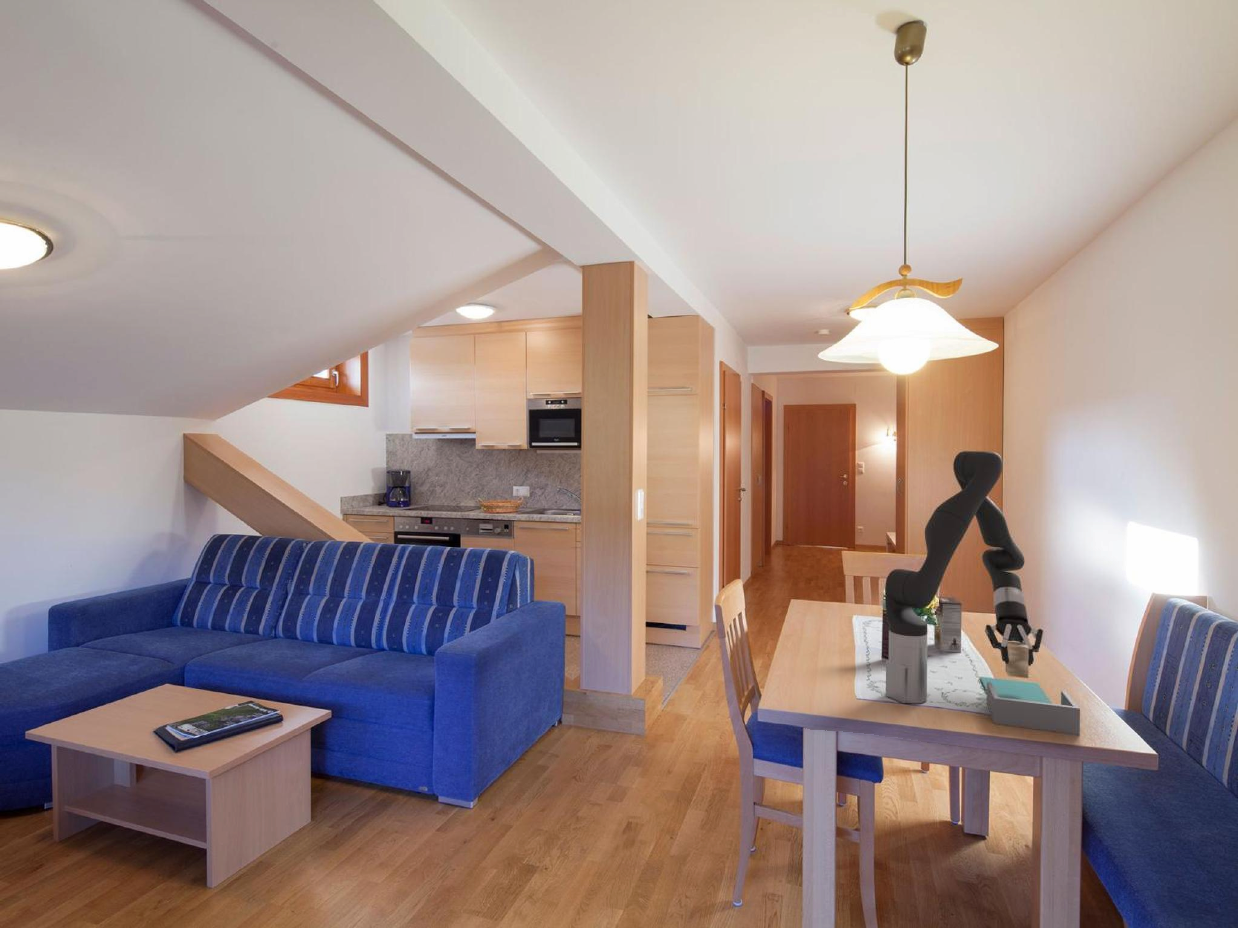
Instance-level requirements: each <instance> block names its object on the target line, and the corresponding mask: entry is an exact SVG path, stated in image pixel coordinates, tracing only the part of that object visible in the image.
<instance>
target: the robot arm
mask: <svg viewBox="0 0 1238 928" xmlns="http://www.w3.org/2000/svg"><path fill="white" fill-rule="evenodd" d="M1003 464H1004V463H1003V458H1002V457H1001V456H1000V454H998V453H997V452H995V451H994V452H993V451H984V450H983V451H982V450H980V451H979V450H976V451H975V450H963V451H960V452H959V453H957V455H955V457H954V460H953V464H952V467H953V468H952V470H953V472H954V473H953V474H954V476H955V479H956V481H957V483H958V486H959V487H960V489H961V490H960V491H958V492H957V493H955V494H954V495H952V496H951V497H949V498H947V499H946V500H945V501H943V502H942V503H941V504H940V505H938V506H937V507H936V508H935V510H934V511H933V513H932V515H931V517H930V518H929V520H928V521H927V523H926V525H925V528H924V539H925V545H926V551H927V553H926V558H925V560H924V562H923V564H922V566H921V567H920V568H919V570H918V571H914V570H910V569H903V568H895V569H893V570H891V571H890V572H889V573H888V575H887V576H886V577H887V578H886V579H885V580H886V581H885V586H884V597H885V600H884V601H885V609H886V617H887V621H888V624H889V659H888V660H886V662H885V696H886V697H888V698H891V699H892V700H895V701H898V702H900V703H902V704H923V703H926V702H927V701H928V624H927V622H926V621H925V620H924V619H922V617H920V616H918V614H917V613H916V612H914V609H919V610H921V609H925V608H927V607H928V606H930V605H931V604H932V602H933V600H935V597H936V595H937V592H938V590H939V588H940V585H941V582H942V580H943V578H944V574H945V573H946V570H947V568H948V566H949V565H950V562H951V560H952V558H953V555H954V554H955V551H956V550H957V548H958V546H959V545H960V543H961V542H962V540H963V538H964V536H965V535H966V533H967V531H968V529H969V527H970V525H971V522H972V521H973V518H976V521H977V524H978V528H979V531H980V534H981V538H982V540H983V543H984V544H985V545H987V546H988V547H991V548H989V549H986V550H985V551H983V553H982V556H981V559H982V563H983V565H984V568H985V569H986V571H987V573H988V574H989V577H990V580H991V583H992V588H993V589H992V590H993V607H994V613H995V619H996V620H995V621H996V623H995V625H990V624H986V625H985V628H984V629H985V630H984V632H985V634H986V636H987V638H988V641H989V643H990V645H991V647H992V648H993V649H998V651H999V650H1000V654H1001V655H1000V657H1001V661H1002V662H1004V664H1005V665H1006V664H1008V662H1009V657H1008V650H1007V648H1006V645H1007V642H1019V643H1024V644H1026V645H1027V646H1028V648H1029V659H1028V667H1031V665H1033V663H1034V660H1035V659H1034V653H1039V651H1040V648H1041V643H1042V639H1043V634H1044V630H1043V629H1041V628H1038V629H1035V628H1032V626H1031V625H1030V623H1029V619H1028V611H1027V607H1026V601H1025V597H1024V595H1023V589H1022V584H1021V579H1020V577H1019V576H1018V575H1017V574H1016V573H1013V572H1014V571H1020V570H1021V569H1023V567H1024V565H1025V557H1024V555H1023V552H1022V551H1021V550H1020V548H1019V546H1018V545H1017V544H1016V542H1015V541H1014V540H1013V538H1012V537H1011V534H1010V531H1009V527H1008V524H1007V521H1006V520H1007V519H1006V518H1005V516H1004V514H1003V511H1001V509H1000V508H999V507H998V506H997V504H995V503H994V502H993V501H992V499H990V498H989V496H988V495H989V494H990V492H991V491H992V490H993V488H994V487H995V485H996V484H997V482H998V481H999V479H1000V477H1001V474H1002V473H1003V467H1004V466H1003ZM913 608H914V609H913ZM996 632H997V633H998V634H999V635H1000V636H1001V637H1002V640H1001V642H999V640H998V639H997V637H996V636H997V635H996ZM1030 634H1032V637H1033V639H1035V641H1034V644H1033V645H1032V643H1031V642H1030V638H1029V635H1030Z"/></svg>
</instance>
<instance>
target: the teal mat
mask: <svg viewBox="0 0 1238 928" xmlns="http://www.w3.org/2000/svg"><path fill="white" fill-rule="evenodd" d="M979 679H980V681H981V683H982V685H984V686H983V688H984V687H985V688H984V691H985V692H986V691H987V682H990V683H992V685H993V687H994V689H995V691H996V693H997V695H998V697H1000V698H1009V699H1017V700H1025V701H1034V702H1042V703H1050V704H1053V703H1052V701H1051V700H1050V698H1049V697H1048V695H1047V694H1046V692H1045V691H1044V689H1042V687H1041V685H1040V684H1039V683H1038V682H1031V681H1024V680H1023V681H1021V680H1015V679H1014V680H1012V679H1007V678H1006V679H1004V678H995V677H986V676H980V678H979Z"/></svg>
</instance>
